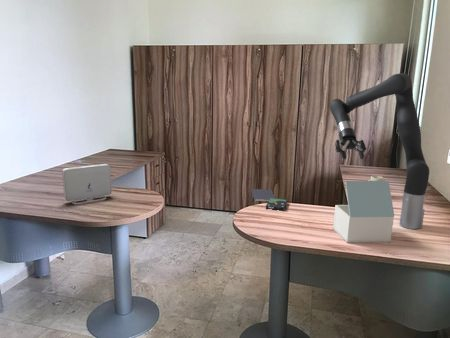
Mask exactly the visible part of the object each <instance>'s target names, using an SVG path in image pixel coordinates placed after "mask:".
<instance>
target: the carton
mask: <svg viewBox="0 0 450 338" xmlns="http://www.w3.org/2000/svg"><path fill="white" fill-rule="evenodd" d="M334 207H335V208H334V215H333V216H334V217H333V226H332V229H333V230H334V231H335V232H336V234H338V235H339V236H340V238H341V239H343V240H344V241H345V243H347V244H354V243H356V244H361V243H365V244H366V243H367V242H370V243H391V241H392V234H393V226H394V219H395V216H394V217H350V214H349V207H348V204H335V206H334Z"/></svg>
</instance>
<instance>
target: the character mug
mask: <svg viewBox="0 0 450 338" xmlns="http://www.w3.org/2000/svg"><path fill="white" fill-rule="evenodd" d="M367 181H386V180H385V179H384V176H381V175H371V176H370V179H368V180H367Z"/></svg>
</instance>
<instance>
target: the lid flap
mask: <svg viewBox="0 0 450 338" xmlns="http://www.w3.org/2000/svg"><path fill="white" fill-rule="evenodd" d="M390 187H391V186H390V181H389V180H385V181H368V180H346V181H345V189H346V191H345V192H346V198H347V205H348V207H349V214H350V217H394V218H395V211H394V205H393V200H392V193H391V188H390Z"/></svg>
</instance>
